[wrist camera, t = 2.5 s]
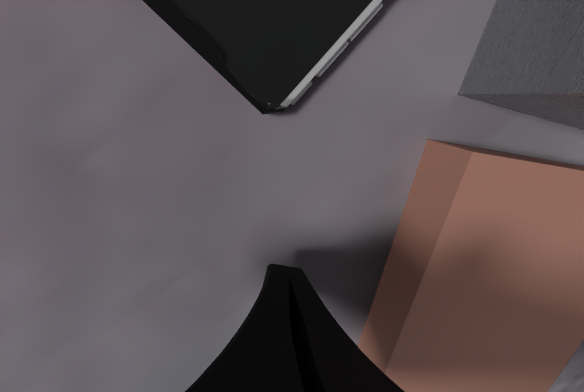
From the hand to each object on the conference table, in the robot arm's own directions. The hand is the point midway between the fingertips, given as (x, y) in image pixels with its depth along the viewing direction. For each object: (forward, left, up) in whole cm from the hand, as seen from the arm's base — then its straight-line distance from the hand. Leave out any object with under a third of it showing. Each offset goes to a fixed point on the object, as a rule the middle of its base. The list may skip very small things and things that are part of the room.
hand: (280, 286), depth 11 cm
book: (0, -9, -2) cm, 9 cm away
